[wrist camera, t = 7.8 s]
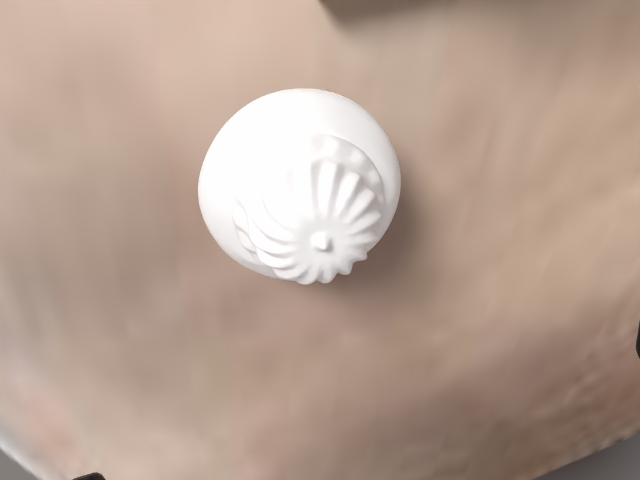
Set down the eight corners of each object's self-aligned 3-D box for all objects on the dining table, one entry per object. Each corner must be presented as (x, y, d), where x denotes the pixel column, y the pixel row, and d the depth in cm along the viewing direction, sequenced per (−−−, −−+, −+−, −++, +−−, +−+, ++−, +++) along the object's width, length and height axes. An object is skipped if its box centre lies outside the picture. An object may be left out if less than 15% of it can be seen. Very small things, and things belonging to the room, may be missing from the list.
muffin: (376, 64, 18) (461, 122, 12) (363, 222, 21) (427, 333, 15) (191, 65, 17) (181, 131, 11) (207, 232, 20) (206, 356, 14)
